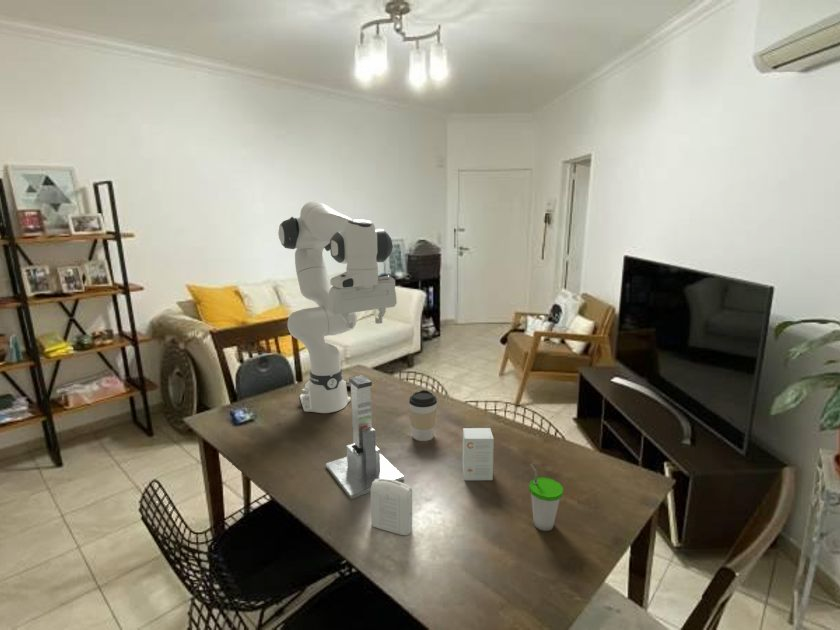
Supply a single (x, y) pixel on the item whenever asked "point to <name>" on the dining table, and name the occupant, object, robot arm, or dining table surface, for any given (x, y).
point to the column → (360, 407)
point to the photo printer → (391, 506)
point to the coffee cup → (423, 415)
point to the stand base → (362, 467)
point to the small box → (478, 454)
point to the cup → (544, 501)
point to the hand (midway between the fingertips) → (364, 325)
